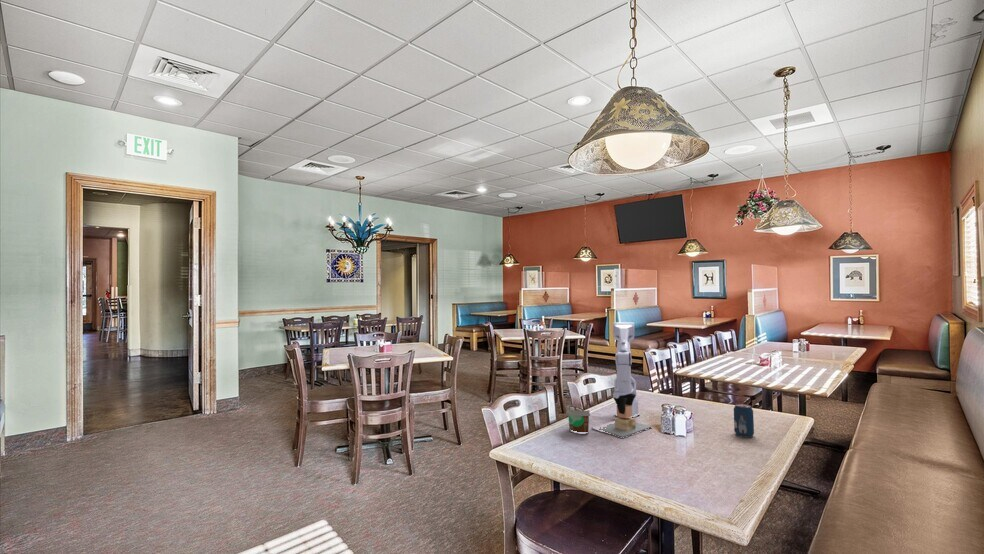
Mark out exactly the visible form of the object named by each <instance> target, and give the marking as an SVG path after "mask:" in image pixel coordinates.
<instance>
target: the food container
mask: <svg viewBox="0 0 984 554" xmlns="http://www.w3.org/2000/svg"><path fill="white" fill-rule="evenodd" d="M566 414H567V415H568V416H567V417H568V425H569V430H570V429H571V430H573V431H577V432H588V433H589V425H590V424H589V421H590V419H589V417H590V416H591V413H590V410H588V409H587V410H583V408H582V407H581V408H580V407H576V406H574V404H573V403H572V404H569V405H567V407H566Z"/></svg>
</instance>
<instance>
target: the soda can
mask: <svg viewBox="0 0 984 554" xmlns="http://www.w3.org/2000/svg"><path fill="white" fill-rule="evenodd" d="M754 419H755V418H754V409H753V408H752V405H750V404H747V403H735V404H734V407H733V429H734V430H733V431H734V433H735V435H736V436H737V435H738V437H740V436H741V438H745V437H750V438H752V437H753V436H754V434H755V424H754V423H755V422H754V421H755V420H754Z"/></svg>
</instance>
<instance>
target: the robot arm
mask: <svg viewBox="0 0 984 554" xmlns="http://www.w3.org/2000/svg"><path fill="white" fill-rule="evenodd" d="M612 333H613V338H614V340H616V341H617V343H616V353H615V359H614V360H615V365H616V367H615V368H616V378H614V379H615V380H614V392H613V393H612V397H613V400H614V402H615V404H616V408H617V407H618V410H619V413H621V414H624V413H625V404H626V405H631V406H632V416H634V415H635V414H639V400H638V399H637V381H636V379H634V378H633V376H632V372H631V371H632V370H631V369H632V368H631V366H632V365H633V364H632V363H633V362H632V361H633V360H632V352H631V341H634V339H635V322H633V321H632V322H631V321H630V322H628V321H627V322H625V321H624V322H623V321H622V322H621V321H620V322H617V321H614V322H613V323H612Z"/></svg>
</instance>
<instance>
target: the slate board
mask: <svg viewBox="0 0 984 554" xmlns="http://www.w3.org/2000/svg"><path fill="white" fill-rule="evenodd" d="M651 427H652V426H651V425H649V424H643V423H639V422H636V428H635V429H632V430H629V431H625V430H622V429H618V428H615V423H614V424H609V425H607V427H603V429H601V427H600V429H599V430H603V431H605V432H608V433H611V434H614V435H616V436H619V437H622V438H623V437H626V436H629V435H631V436H633V435H632V434H634V433H637V432H640V431H643V430H645V429H648V428H651ZM605 428H606V429H605ZM651 429H652V428H651ZM648 430H649V429H648ZM645 431H646V430H645ZM643 432H644V431H643ZM640 433H641V432H640ZM637 434H638V433H637ZM634 435H635V434H634ZM616 436H615V437H616ZM619 437H618V438H619ZM629 437H630V436H629ZM622 438H621V439H622ZM626 438H627V437H626ZM623 439H624V438H623Z"/></svg>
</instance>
